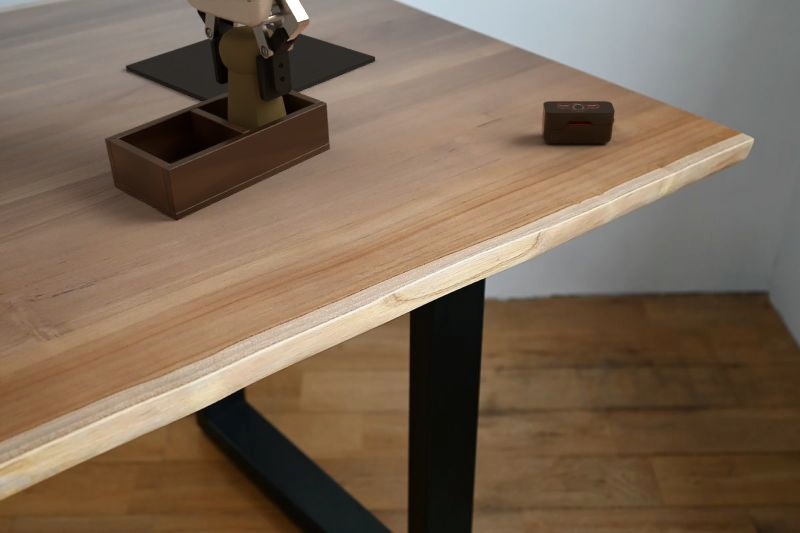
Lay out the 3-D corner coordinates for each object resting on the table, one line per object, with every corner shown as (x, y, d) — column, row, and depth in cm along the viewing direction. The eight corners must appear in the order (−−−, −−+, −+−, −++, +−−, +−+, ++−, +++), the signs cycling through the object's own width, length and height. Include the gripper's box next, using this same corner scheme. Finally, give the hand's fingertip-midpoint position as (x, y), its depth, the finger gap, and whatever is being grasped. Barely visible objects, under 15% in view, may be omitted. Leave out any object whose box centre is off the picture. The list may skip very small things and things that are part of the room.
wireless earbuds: (620, 145, 84) (624, 113, 82) (543, 145, 84) (545, 113, 83) (613, 124, 88) (616, 93, 86) (538, 124, 88) (541, 93, 87)
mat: (126, 69, 103) (125, 65, 103) (261, 25, 115) (260, 21, 115) (238, 115, 92) (238, 111, 91) (375, 60, 104) (375, 56, 104)
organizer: (114, 186, 79) (104, 138, 77) (266, 122, 90) (261, 78, 88) (177, 220, 74) (167, 170, 72) (330, 148, 85) (327, 102, 82)
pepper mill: (238, 130, 87) (223, 17, 81) (299, 133, 86) (289, 19, 80) (219, 158, 82) (202, 40, 76) (284, 161, 81) (272, 42, 75)
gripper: (125, -135, 74) (162, 77, 84) (263, -110, 64) (286, 127, 74) (200, -148, 78) (226, 55, 88) (339, -126, 69) (351, 99, 79)
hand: (253, 85), depth 81 cm, fingers open, 5 cm apart
